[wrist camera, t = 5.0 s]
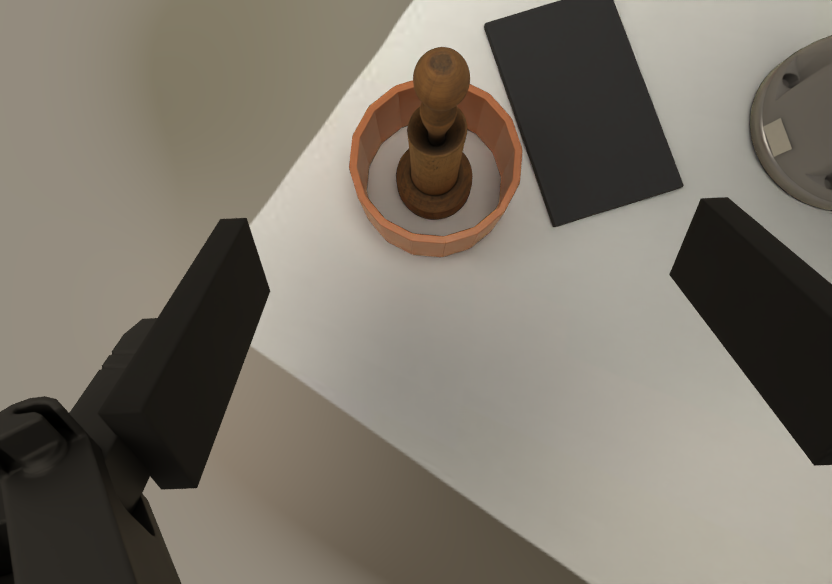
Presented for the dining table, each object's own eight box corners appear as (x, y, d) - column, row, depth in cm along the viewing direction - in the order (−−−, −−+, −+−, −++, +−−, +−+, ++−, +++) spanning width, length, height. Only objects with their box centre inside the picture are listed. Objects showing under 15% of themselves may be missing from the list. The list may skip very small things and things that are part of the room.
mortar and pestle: (386, 204, 40) (356, 99, 22) (412, 139, 40) (403, -15, 22) (455, 229, 39) (482, 144, 22) (480, 164, 40) (527, 27, 22)
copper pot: (480, 97, 41) (490, 56, 35) (526, 231, 39) (544, 213, 33) (343, 138, 40) (329, 105, 34) (385, 274, 39) (378, 264, 33)
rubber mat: (605, -10, 41) (608, -15, 41) (680, 188, 40) (684, 186, 39) (483, 27, 41) (484, 22, 41) (553, 227, 39) (555, 226, 39)
